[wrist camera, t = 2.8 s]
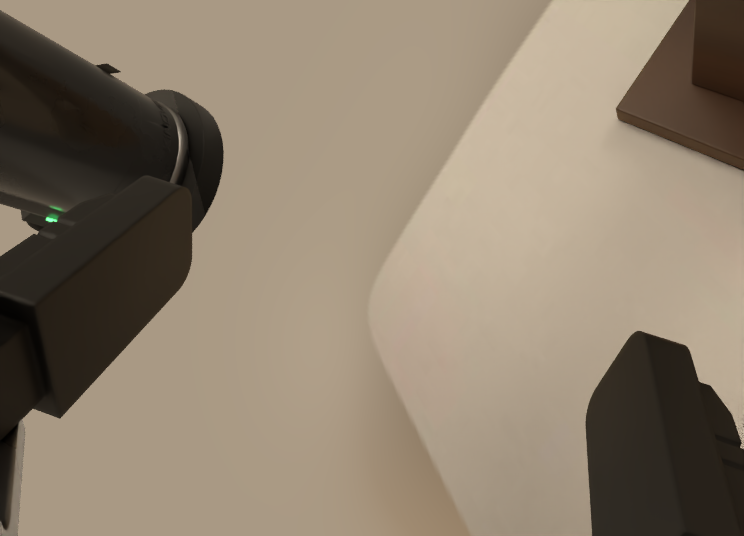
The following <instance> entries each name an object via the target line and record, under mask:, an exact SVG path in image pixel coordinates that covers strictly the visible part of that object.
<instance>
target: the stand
mask: <svg viewBox="0 0 744 536" xmlns="http://www.w3.org/2000/svg"><path fill="white" fill-rule="evenodd" d="M616 112H617V116H618V119H620V120H622V121H625V122H627V123H629V124H632V125H634V126H637V127H639V128H642V129H644V130H647V131H649V132H652V133H654V134H656V135H659V136H661V137H664V138H666V139H669V140H671V141H674V142H676V143H679V144H681V145H683V146H686V147H688V148H691V149H693V150H696V151H698V152H701V153H703V154H706V155H708V156H710V157H713V158H715V159H718V160H720V161H723V162H725V163H728V164H730V165H733V166H735V167H737V168H740V169H742V170H744V0H689V2H688V3H687V5H686V6H685V7H684V9H683V10H682V12H681V13H680V15H679V16H678V18H677V19H676V21H675V22H674V24H673V25H672V27H671V28H670V30H669V31H668V33H667V34H666V35H665V37H664V38H663V40H662V41H661V43H660V44H659V46H658V47H657V49H656V50H655V52H654V53H653V55H652V56H651V58H650V59H649V61H648V62H647V63H646V65H645V66H644V68H643V69H642V71H641V72H640V74H639V75H638V77H637V78H636V80H635V81H634V83H633V84H632V86H631V87H630V89H629V90H628V91H627V93H626V94H625V96H624V97H623V99H622V100H621V102H620V103H619V105H618V106H617V108H616Z"/></svg>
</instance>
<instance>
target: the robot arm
mask: <svg viewBox="0 0 744 536" xmlns="http://www.w3.org/2000/svg"><path fill="white" fill-rule="evenodd" d="M118 72H120V71H119V70H117V69H115V68H114V67H112V66H110V65H109V64H101V65H93V64H91V63H90V62H88V61H86V60H85V59H83V58H81V57H79V56H78V55H76V54H74V53H73V52H71V51H69V50H68V49H66V48H64V47H62V46H61V45H59V44H57V43H56V42H54V41H52V40H50V39H49V38H47V37H45V36H44V35H42V34H40V33H38V32H37V31H35V30H33V29H31V28H30V27H28V26H26V25H25V24H23V23H21V22H20V21H18V20H16V19H14V18H13V17H11V16H9V15H8V14H6V13H4V12H2V11H1V10H0V204H3V205H6V206H10V207H13V208H16V209H20V210H21V215H22V220H23V221H26V222H27V223H28V225H29V226H30V227H32V228H34V229H35V230H37V231H39V233H38V234H37V235H36V234H33V235H31V236H30V237H28V238H27V239H25V240H24V241H23V242H21V243H20V244H18V245H17V246H15V247H14V248H12V249H11V250H9V251H8V252H6V253H5V254H3V255H2V256H0V536H18V522H19V509H20V495H21V482H22V467H23V455H24V441H25V428H24V424H23V421H22V419H23V417H25V416H26V415H27V414H28V413H29V411H31V410H32V409H36V410H38V411H41V412H44V413H46V414H49V415H52V416H54V417H57V418H61V417H62V416H63V415H64V414H65V413H66V412H67V410H68V409H69V408H70V407H71V406H72V405H73V404H74V403H75V402H76V401H77V400H78V399H79V397H80V396H81V395H82V394H83V393H84V392H85V391H86V390H87V389H88V388H89V387H90V385H91V384H92V383H93V382H94V381H95V380H96V379H97V378H98V377H99V376H100V375H101V374H102V373H103V371H104V370H105V369H106V368H107V367H108V366H109V365H110V364H111V363H112V361H114V360H115V358H116V357H117V356H118V355H119V354H120V353H121V352H122V351H123V350H124V349H125V348H126V346H127V345H128V344H129V343H130V342H131V341H132V340H133V339H134V338H135V337H136V336H137V335H138V333H139V332H140V331H141V330H142V329H143V328H144V327H145V326H146V325H147V324H148V323H149V322H150V321H151V319H152V318H153V317H154V316H155V315H156V314H157V313H158V312H159V311H160V310H161V308H163V306H164V305H165V304H166V303H167V302H168V301H169V300H170V298H172V297H173V296H174V295H175V293H176V292H177V291H178V290H179V289H180V288H181V286H182V285H183V283H184V281H185V280H186V278H187V275H188V273H189V270H190V266H191V261H192V197H191V193H190V191H189V189H187V188H186V187H183V186H181V184H182V182H183V179H184V176H185V173H186V169H187V165H188V160H189V136H188V131H187V128H186V125H185V123H184V121H183V120H182V118H181V117H180V115H179V114H178V113H177V112H176V111H174V110H173V109H171V108H169V107H168V106H166V105H164V104H163V103H160V102H158V101H155V100H153V99H151V98H149V97H148V96H146V95H144V94H142V93H141V92H139V91H137V90H135V89H134V88H132V87H130V86H129V85H127V84H126V83H124V82H122V81H121V80H119V79H117V78H115V77H114V76H112V75H110V74H111V73H118ZM586 439H587V456H588V472H589V488H590V505H591V521H592V536H744V449H741V448H740V445H741V444H742V443H741V440H740V437H739V434H738V431H737V428H736V425H735V422H734V420H733V417H732V414H731V413H730V411H729V410H728V409H727V407H726V406H725V405H724V403H723V402H722V401H721V399H720V398H719V397H718V395H717V394H716V393H715V391H714V390H713V389H712V387H711V386H710V385H707V384H704V383H701V382H699V381H698V377H697V374H696V371H695V367H694V364H693V360H692V357H691V354H690V351H689V349H688V348H687V347H686V346H685V345H682V344H679V343H676V342H673V341H670V340H667V339H664V338H660V337H657V336H654V335H651V334H648V333H645V332H642V331H637V332H635V333H633V334H632V335H631V336H630V338H629V339H628V340H627V342H626V343H625V345H624V346H623V348H622V349H621V351H620V352H619V354H618V355H617V357H616V358H615V360H614V361H613V363H612V364H611V366H610V368H609V369H608V371H607V372H606V374H605V375H604V377H603V378H602V380H601V381H600V383H599V384H598V386H597V387H596V389H595V391H594V392H593V394H592V397H591V399H590V402H589V405H588V409H587V414H586Z"/></svg>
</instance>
